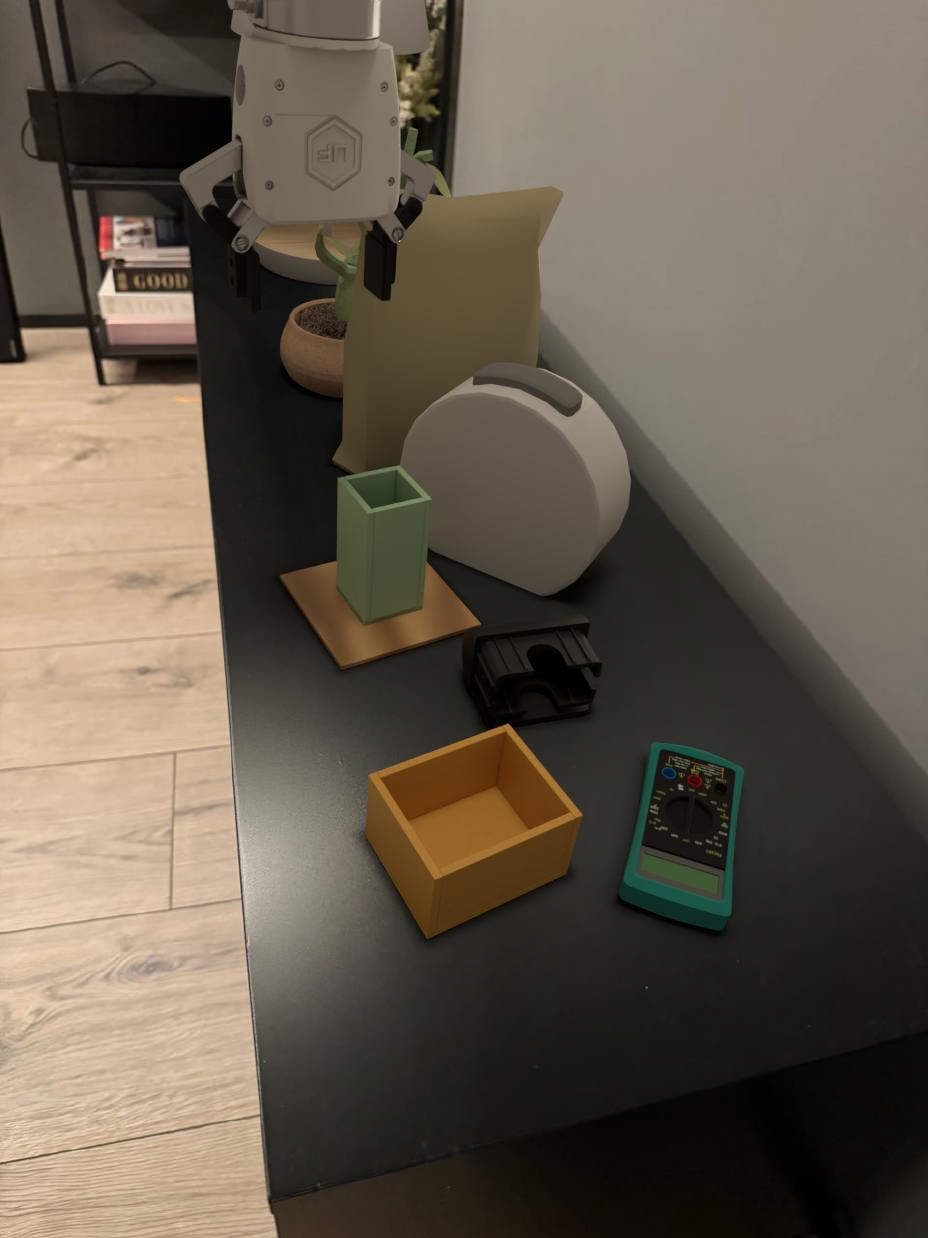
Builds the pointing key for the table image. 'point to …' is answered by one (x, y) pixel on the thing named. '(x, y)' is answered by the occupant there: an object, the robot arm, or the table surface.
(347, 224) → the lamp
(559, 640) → the end cap
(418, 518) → the sage tub
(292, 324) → the potted plant
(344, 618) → the cork mat
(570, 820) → the ochre bin
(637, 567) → the table surface
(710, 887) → the digital multimeter
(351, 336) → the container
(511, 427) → the alarm clock
